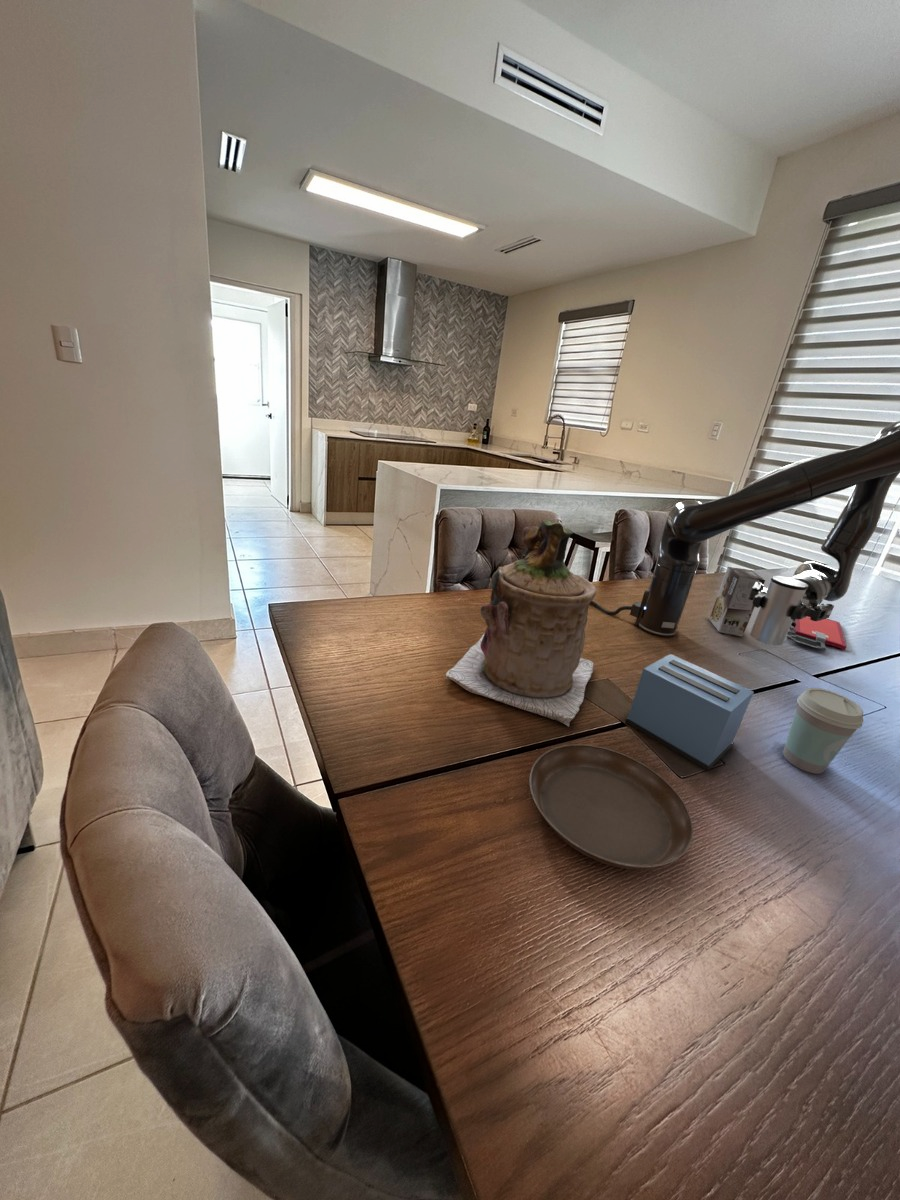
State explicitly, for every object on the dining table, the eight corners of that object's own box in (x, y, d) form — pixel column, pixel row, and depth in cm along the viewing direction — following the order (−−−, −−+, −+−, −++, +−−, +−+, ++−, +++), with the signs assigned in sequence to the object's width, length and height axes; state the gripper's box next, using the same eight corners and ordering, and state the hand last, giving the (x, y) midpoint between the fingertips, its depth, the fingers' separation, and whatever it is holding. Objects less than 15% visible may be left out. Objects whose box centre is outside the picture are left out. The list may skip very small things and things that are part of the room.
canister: (745, 635, 92) (767, 578, 87) (755, 629, 95) (777, 573, 91) (778, 648, 88) (803, 589, 83) (787, 641, 92) (812, 584, 87)
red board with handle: (777, 639, 125) (846, 661, 117) (782, 629, 124) (851, 651, 116) (779, 609, 148) (837, 626, 141) (783, 601, 147) (841, 618, 140)
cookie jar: (595, 669, 99) (635, 520, 87) (572, 732, 78) (620, 549, 66) (486, 635, 108) (509, 496, 96) (439, 684, 87) (461, 514, 75)
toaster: (624, 721, 83) (641, 667, 79) (655, 701, 90) (672, 650, 86) (707, 771, 73) (732, 712, 69) (734, 744, 81) (758, 689, 76)
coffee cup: (817, 786, 73) (851, 723, 68) (763, 750, 80) (790, 691, 75) (844, 772, 77) (878, 711, 72) (790, 739, 84) (818, 682, 79)
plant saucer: (522, 749, 73) (526, 732, 72) (657, 771, 72) (663, 754, 71) (529, 869, 54) (534, 848, 53) (712, 902, 53) (722, 881, 52)
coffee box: (743, 637, 124) (766, 580, 118) (718, 632, 125) (739, 575, 119) (732, 623, 133) (752, 569, 126) (708, 619, 133) (727, 565, 127)
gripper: (769, 565, 101) (741, 577, 91) (850, 588, 92) (830, 604, 81) (756, 597, 104) (728, 612, 94) (834, 622, 95) (812, 642, 84)
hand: (775, 608), depth 87 cm, fingers closed on canister, 5 cm apart
